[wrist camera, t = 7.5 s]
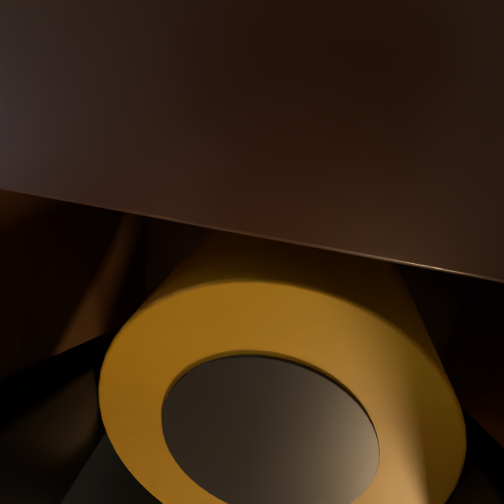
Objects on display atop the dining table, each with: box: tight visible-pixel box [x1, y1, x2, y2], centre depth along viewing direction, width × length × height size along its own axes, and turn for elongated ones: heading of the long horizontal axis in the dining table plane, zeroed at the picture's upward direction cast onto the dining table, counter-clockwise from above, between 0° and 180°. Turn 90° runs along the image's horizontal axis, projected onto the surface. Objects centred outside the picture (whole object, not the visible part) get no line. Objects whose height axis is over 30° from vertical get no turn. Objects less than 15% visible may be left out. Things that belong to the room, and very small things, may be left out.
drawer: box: [0, 189, 504, 504], centre depth 9 cm, size 17×12×6 cm
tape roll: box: [98, 228, 467, 504], centre depth 8 cm, size 6×6×5 cm
